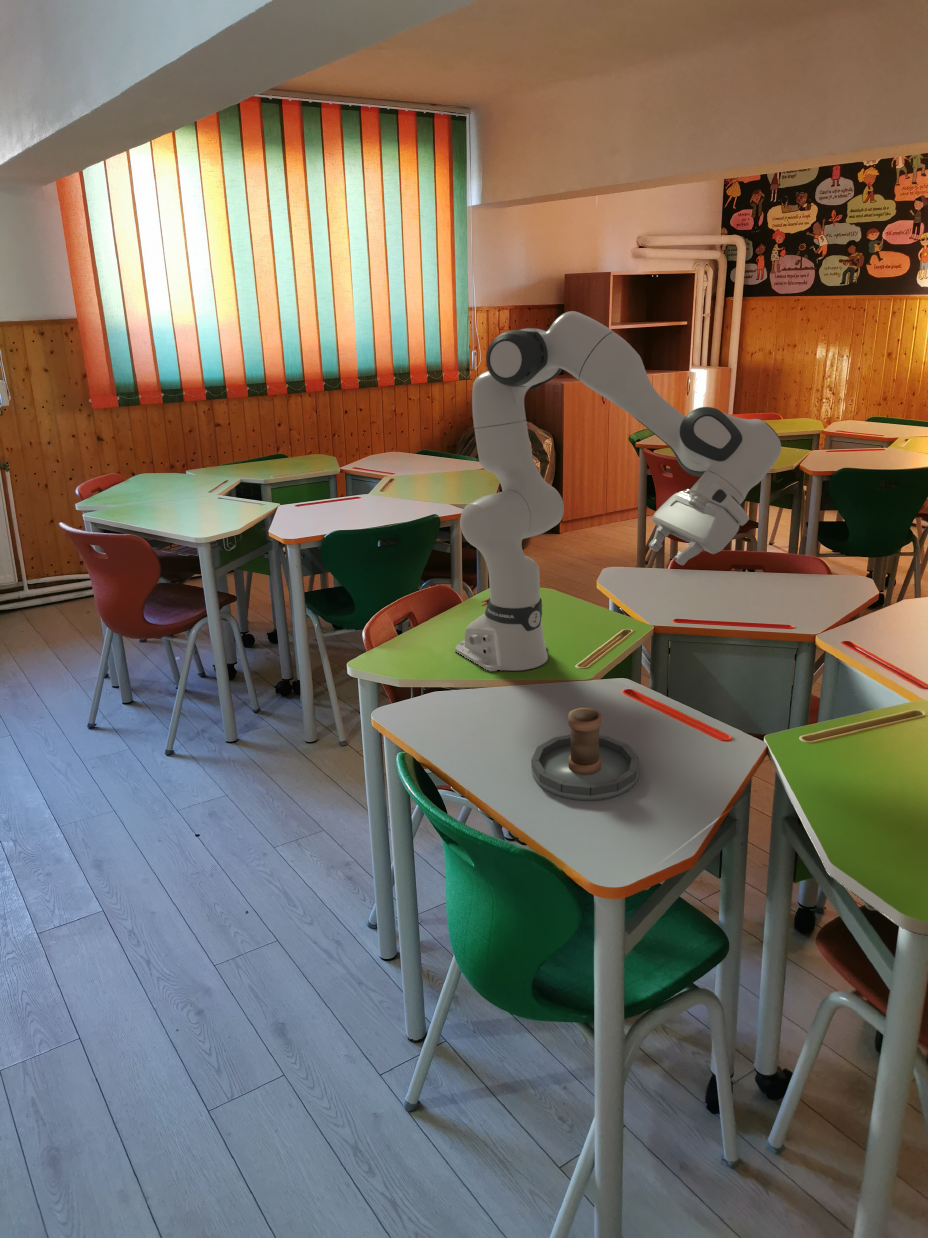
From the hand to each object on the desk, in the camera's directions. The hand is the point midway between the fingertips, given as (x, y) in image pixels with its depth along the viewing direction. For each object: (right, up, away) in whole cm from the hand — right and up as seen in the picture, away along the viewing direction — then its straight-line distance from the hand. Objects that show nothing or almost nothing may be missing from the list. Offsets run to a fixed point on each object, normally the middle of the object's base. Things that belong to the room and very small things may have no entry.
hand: (664, 555), depth 166 cm
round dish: (-16, -39, -11) cm, 43 cm away
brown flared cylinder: (-16, -38, -11) cm, 43 cm away
